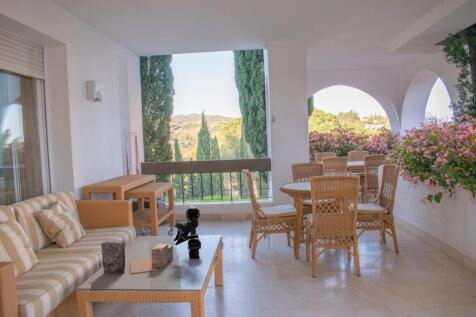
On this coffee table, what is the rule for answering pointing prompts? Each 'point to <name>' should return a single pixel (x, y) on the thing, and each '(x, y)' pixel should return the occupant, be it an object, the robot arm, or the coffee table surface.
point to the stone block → (113, 256)
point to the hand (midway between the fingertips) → (174, 243)
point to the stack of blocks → (161, 255)
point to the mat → (141, 266)
